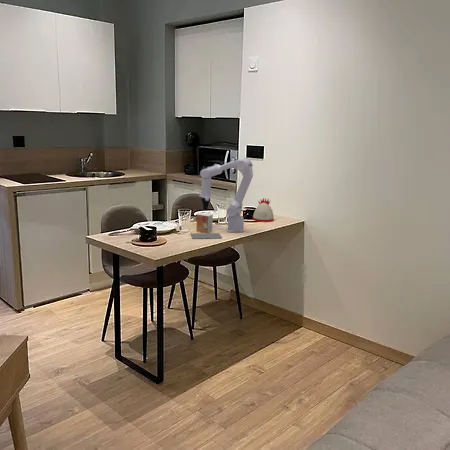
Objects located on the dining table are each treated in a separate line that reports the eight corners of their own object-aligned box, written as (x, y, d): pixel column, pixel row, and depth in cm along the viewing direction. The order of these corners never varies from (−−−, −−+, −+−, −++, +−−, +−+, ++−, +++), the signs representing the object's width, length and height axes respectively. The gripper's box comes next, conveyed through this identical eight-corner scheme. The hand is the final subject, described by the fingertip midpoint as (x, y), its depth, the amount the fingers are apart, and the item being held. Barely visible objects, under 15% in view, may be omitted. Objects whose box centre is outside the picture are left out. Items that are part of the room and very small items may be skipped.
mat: (219, 233, 280) (219, 233, 280) (222, 238, 270) (222, 237, 270) (190, 234, 277) (190, 233, 277) (192, 239, 267) (192, 238, 267)
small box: (196, 231, 284) (196, 214, 281) (200, 229, 289) (201, 212, 286) (207, 233, 280) (208, 216, 278) (212, 231, 285) (212, 214, 283)
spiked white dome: (271, 223, 312) (272, 200, 308) (250, 221, 315) (252, 198, 312) (275, 218, 325) (276, 197, 321) (255, 216, 328) (256, 195, 325)
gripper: (198, 186, 297) (197, 207, 300) (200, 190, 283) (200, 212, 286) (209, 186, 298) (208, 207, 301) (212, 190, 284) (211, 212, 287)
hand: (205, 210), depth 294 cm, fingers closed
